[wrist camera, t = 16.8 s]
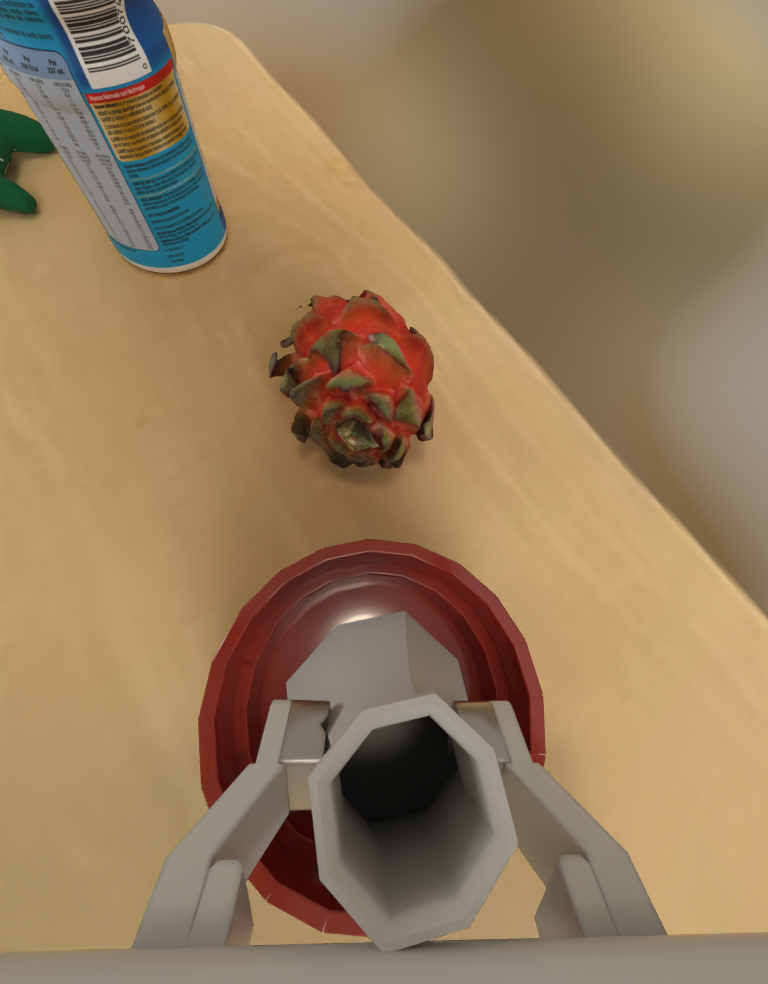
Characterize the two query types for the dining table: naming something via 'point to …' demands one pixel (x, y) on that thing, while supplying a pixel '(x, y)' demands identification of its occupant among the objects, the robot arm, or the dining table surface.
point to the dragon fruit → (357, 380)
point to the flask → (401, 784)
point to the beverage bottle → (118, 122)
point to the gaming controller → (19, 134)
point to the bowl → (295, 636)
